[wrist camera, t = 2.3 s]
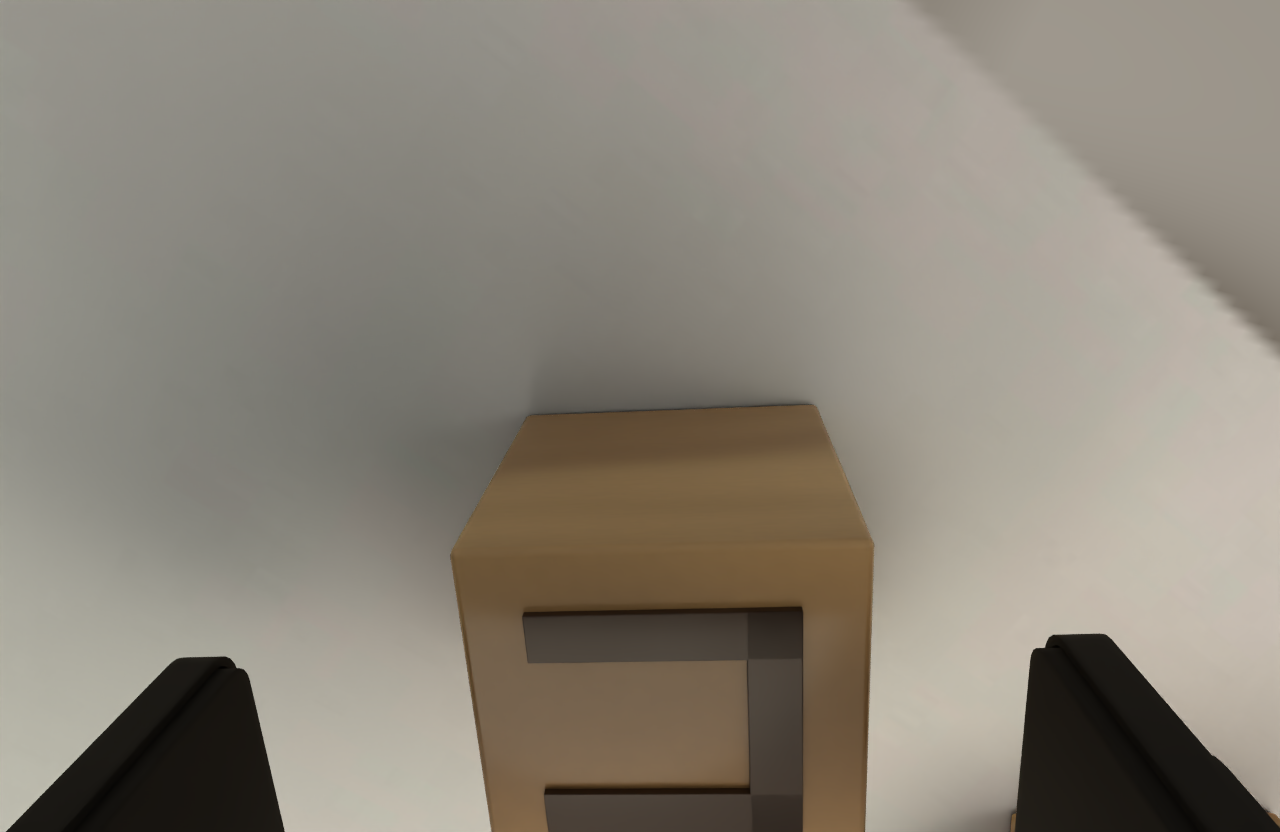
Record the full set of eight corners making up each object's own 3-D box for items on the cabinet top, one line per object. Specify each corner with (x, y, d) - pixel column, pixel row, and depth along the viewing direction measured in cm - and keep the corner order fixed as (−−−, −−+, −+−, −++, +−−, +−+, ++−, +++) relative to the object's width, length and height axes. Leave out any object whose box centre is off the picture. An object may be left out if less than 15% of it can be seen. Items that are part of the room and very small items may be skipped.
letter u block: (525, 414, 13) (444, 556, 9) (817, 402, 13) (877, 545, 9) (552, 658, 15) (493, 882, 10) (815, 654, 14) (866, 884, 10)
